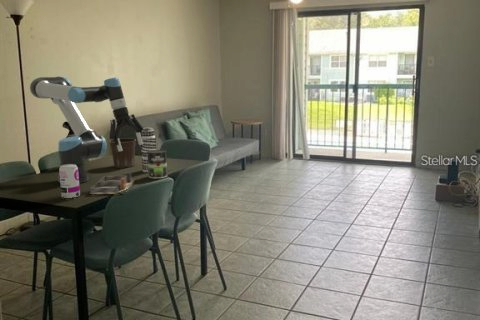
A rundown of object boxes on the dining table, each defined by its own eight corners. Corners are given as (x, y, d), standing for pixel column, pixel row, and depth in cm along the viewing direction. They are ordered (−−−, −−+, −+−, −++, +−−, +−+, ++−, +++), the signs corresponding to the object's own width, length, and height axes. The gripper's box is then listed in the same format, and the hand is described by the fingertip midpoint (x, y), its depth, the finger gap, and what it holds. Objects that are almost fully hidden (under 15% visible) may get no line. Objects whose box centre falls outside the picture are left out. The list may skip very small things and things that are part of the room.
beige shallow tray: (89, 195, 224) (88, 182, 222) (104, 182, 250) (103, 170, 249) (124, 194, 224) (123, 181, 223) (134, 181, 251) (133, 169, 249)
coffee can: (168, 177, 257) (167, 152, 254) (149, 179, 254) (147, 153, 251) (166, 174, 266) (165, 149, 264) (147, 175, 264) (146, 150, 261)
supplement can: (82, 194, 225) (79, 163, 222) (77, 199, 217) (74, 167, 214) (65, 195, 225) (62, 164, 222) (59, 199, 217) (56, 167, 214)
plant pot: (131, 169, 283) (130, 142, 280) (106, 168, 285) (104, 142, 282) (141, 163, 298) (140, 138, 296) (117, 163, 301) (115, 138, 298)
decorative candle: (146, 173, 270) (143, 129, 266) (139, 170, 278) (136, 127, 273) (160, 170, 276) (158, 127, 271) (153, 168, 283) (151, 126, 278)
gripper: (103, 111, 233) (115, 153, 235) (142, 102, 251) (153, 141, 254) (95, 114, 237) (107, 154, 240) (134, 104, 256) (145, 142, 259)
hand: (131, 147), depth 247 cm, fingers open, 13 cm apart
